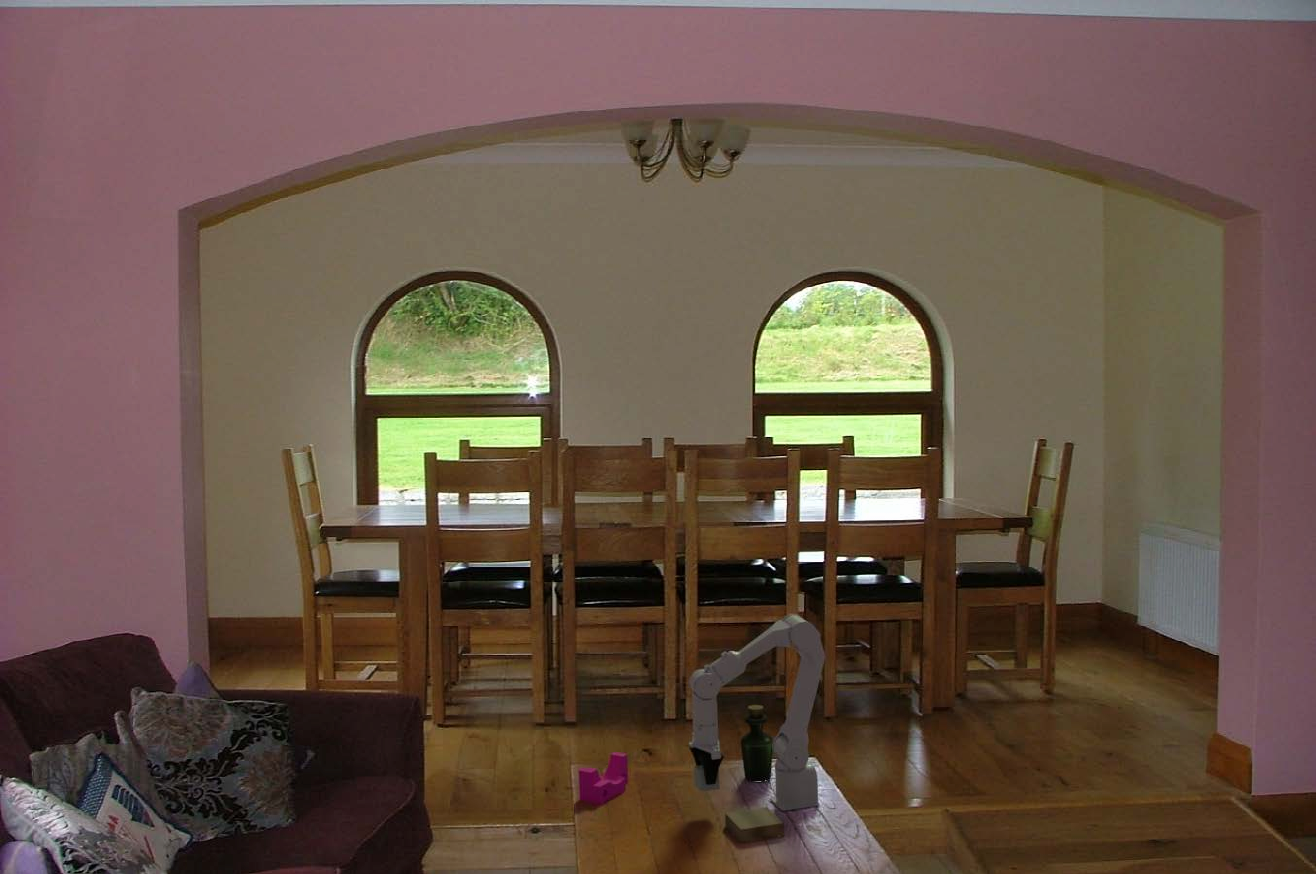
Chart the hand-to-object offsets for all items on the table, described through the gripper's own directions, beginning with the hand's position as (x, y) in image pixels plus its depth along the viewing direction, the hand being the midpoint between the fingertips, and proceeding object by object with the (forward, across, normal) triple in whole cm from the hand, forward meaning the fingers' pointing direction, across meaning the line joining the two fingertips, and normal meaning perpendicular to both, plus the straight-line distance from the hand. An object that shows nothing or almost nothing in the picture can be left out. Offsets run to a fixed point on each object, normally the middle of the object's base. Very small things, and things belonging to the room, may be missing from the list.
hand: (707, 780), depth 279 cm
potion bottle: (+8, -17, +19) cm, 27 cm away
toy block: (+8, -22, -18) cm, 30 cm away
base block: (+8, +14, +6) cm, 17 cm away
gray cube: (+2, 0, 0) cm, 2 cm away
